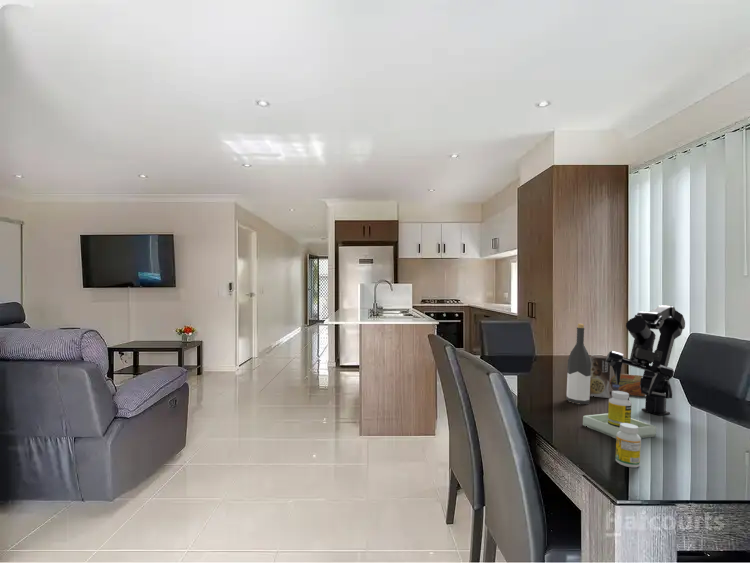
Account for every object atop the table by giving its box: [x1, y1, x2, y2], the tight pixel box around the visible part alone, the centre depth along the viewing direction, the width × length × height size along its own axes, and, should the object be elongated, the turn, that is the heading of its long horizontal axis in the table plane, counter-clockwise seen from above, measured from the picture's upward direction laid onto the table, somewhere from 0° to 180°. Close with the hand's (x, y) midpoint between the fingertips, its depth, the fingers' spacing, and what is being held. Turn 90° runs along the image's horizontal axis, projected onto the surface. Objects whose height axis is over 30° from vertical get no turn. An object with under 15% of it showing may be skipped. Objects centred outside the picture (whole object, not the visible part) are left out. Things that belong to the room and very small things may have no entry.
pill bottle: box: [607, 390, 632, 428], centre depth 133 cm, size 6×6×11 cm
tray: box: [582, 412, 657, 439], centre depth 133 cm, size 14×14×3 cm
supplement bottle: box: [615, 423, 642, 468], centre depth 108 cm, size 5×5×10 cm
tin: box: [610, 373, 646, 397], centre depth 181 cm, size 15×3×8 cm, turn 68°
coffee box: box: [589, 354, 611, 399], centre depth 177 cm, size 9×6×16 cm
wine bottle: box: [566, 323, 591, 405], centre depth 165 cm, size 8×8×30 cm
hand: (633, 389), depth 140 cm, fingers open, 9 cm apart
